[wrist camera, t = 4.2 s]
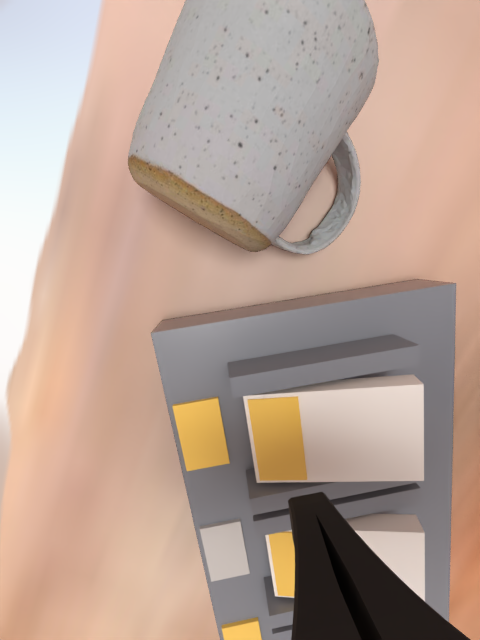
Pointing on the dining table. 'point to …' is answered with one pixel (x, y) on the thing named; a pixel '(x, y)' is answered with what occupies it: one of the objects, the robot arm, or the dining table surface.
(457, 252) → the dining table surface
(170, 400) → the switch panel
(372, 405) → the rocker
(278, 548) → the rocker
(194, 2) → the ceramic mug
